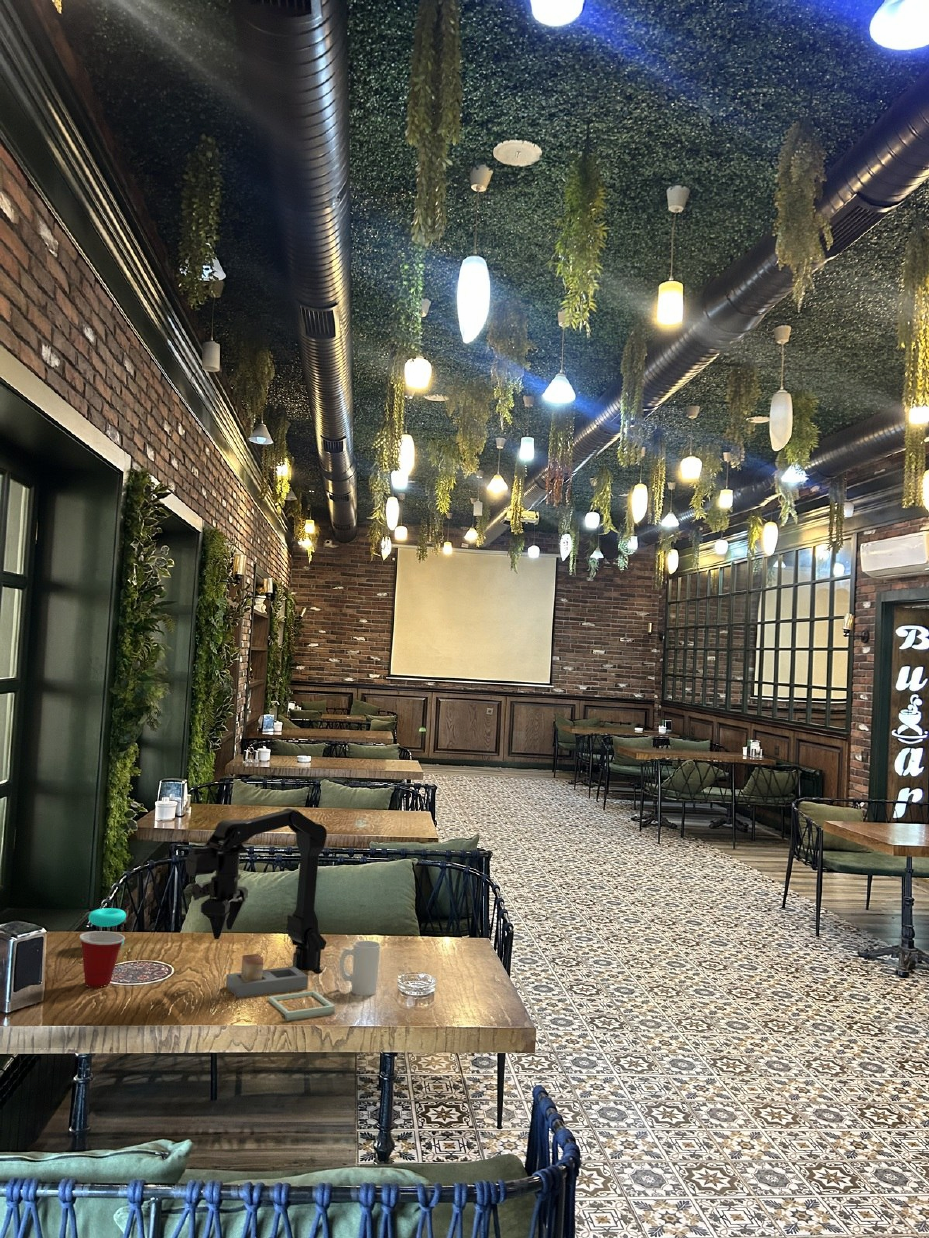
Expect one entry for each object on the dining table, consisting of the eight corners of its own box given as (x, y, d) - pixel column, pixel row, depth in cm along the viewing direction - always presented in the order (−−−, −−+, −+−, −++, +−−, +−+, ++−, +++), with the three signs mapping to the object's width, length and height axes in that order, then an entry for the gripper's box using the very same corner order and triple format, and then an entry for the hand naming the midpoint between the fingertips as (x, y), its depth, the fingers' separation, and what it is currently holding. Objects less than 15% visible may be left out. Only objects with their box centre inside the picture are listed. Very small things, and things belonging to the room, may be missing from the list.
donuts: (133, 908, 269) (114, 917, 259) (130, 944, 268) (111, 953, 259) (101, 905, 271) (81, 913, 261) (98, 940, 270) (78, 950, 260)
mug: (376, 987, 242) (379, 940, 243) (377, 996, 235) (380, 948, 236) (337, 987, 241) (340, 939, 242) (337, 995, 234) (340, 947, 235)
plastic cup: (119, 990, 229) (123, 940, 230) (72, 991, 226) (76, 941, 227) (123, 976, 240) (127, 929, 241) (78, 977, 237) (82, 929, 238)
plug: (255, 986, 235) (257, 953, 236) (261, 990, 232) (263, 957, 232) (240, 988, 233) (242, 955, 234) (245, 992, 230) (247, 959, 230)
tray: (314, 997, 232) (314, 990, 232) (334, 1013, 222) (334, 1005, 222) (267, 1004, 225) (268, 996, 226) (286, 1020, 215) (287, 1012, 215)
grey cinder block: (293, 981, 243) (294, 966, 243) (306, 992, 236) (307, 976, 236) (225, 990, 234) (226, 974, 234) (237, 1001, 226) (238, 984, 226)
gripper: (209, 862, 247) (205, 922, 246) (182, 876, 229) (177, 941, 228) (250, 865, 246) (246, 925, 245) (226, 879, 228) (222, 945, 227)
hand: (223, 934), depth 236 cm, fingers open, 9 cm apart
